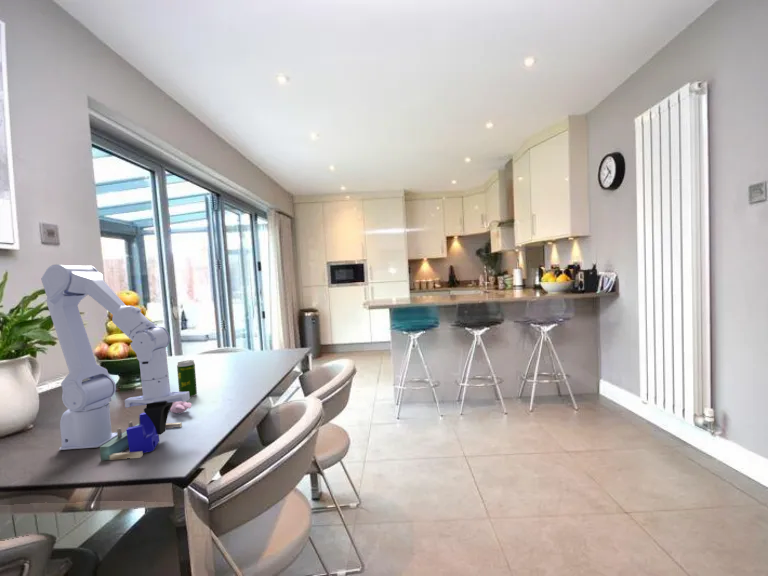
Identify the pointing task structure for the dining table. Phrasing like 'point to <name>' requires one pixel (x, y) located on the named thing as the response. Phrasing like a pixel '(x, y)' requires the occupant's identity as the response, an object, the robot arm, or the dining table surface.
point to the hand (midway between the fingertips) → (161, 433)
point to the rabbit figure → (180, 407)
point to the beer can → (187, 377)
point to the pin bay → (123, 445)
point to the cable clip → (142, 435)
